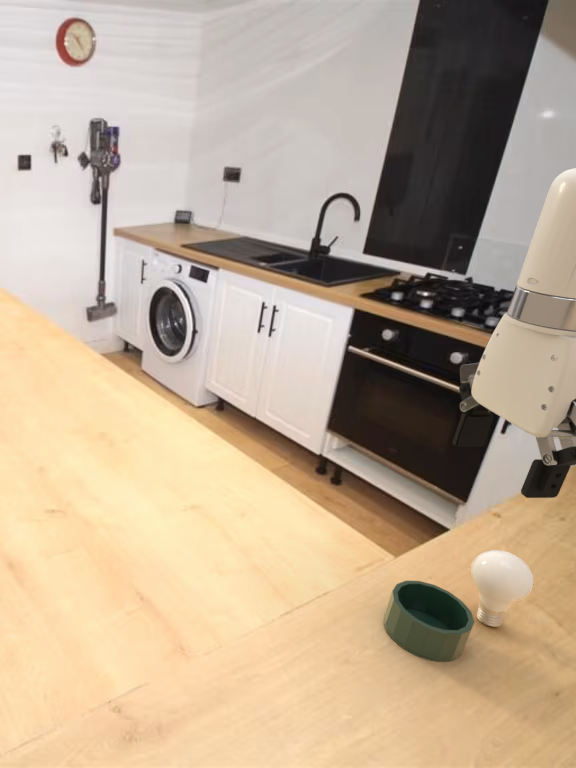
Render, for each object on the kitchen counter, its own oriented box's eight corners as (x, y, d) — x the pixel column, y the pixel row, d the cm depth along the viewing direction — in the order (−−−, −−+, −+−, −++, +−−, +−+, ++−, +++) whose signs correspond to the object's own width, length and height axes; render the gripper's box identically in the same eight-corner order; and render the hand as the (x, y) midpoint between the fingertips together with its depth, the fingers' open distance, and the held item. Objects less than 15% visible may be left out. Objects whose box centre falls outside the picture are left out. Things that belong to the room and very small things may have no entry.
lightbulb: (453, 623, 73) (471, 555, 69) (464, 599, 77) (481, 534, 73) (513, 649, 69) (535, 578, 65) (521, 622, 73) (542, 554, 69)
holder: (434, 608, 75) (445, 581, 73) (478, 663, 67) (491, 634, 65) (371, 607, 75) (379, 579, 73) (406, 662, 67) (417, 633, 65)
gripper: (703, 341, 42) (613, 520, 49) (525, 288, 58) (476, 429, 65) (608, 341, 42) (531, 521, 49) (456, 288, 58) (414, 429, 65)
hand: (499, 468), depth 57 cm, fingers open, 9 cm apart
